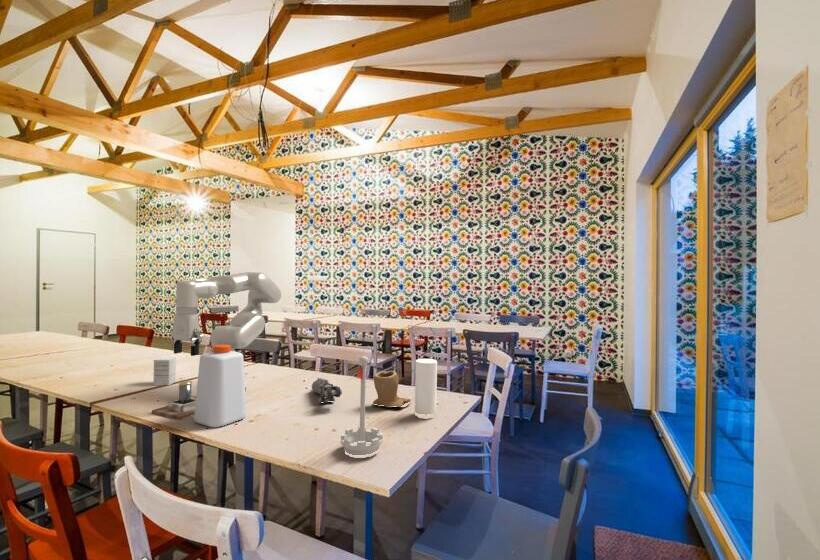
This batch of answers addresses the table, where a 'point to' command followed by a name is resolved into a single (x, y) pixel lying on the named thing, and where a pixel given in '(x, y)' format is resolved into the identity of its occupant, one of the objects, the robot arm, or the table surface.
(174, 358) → the supplement box
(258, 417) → the table surface
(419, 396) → the tall white tube
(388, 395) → the stone cup
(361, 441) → the flag stand
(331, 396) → the grey lumpy piece
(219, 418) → the plastic bottle
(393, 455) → the table surface
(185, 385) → the gold topped cylinder
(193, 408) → the docking plate
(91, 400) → the table surface
